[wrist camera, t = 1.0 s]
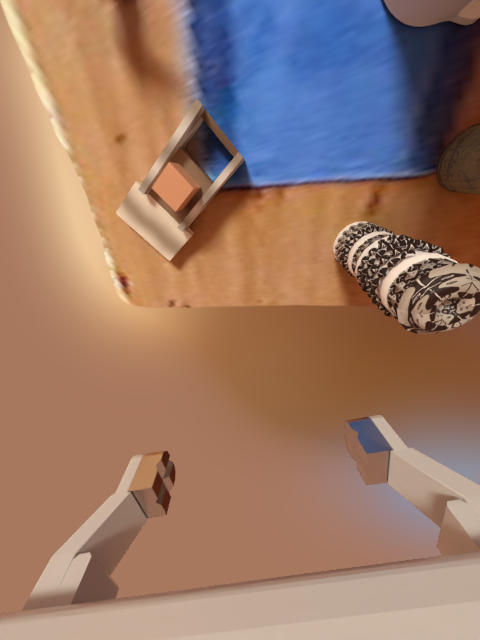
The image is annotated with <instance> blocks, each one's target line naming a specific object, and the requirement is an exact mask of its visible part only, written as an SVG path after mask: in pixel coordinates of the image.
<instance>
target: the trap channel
mask: <svg viewBox="0 0 480 640" xmlns="http://www.w3.org/2000/svg"><path fill="white" fill-rule="evenodd" d="M203 121H205V122H206V123H207V125H208V126H209V127H210V128H211V130H212V131H213V132H214V133H215V135H216V136H217V137H218V138H219V140H220V141H221V142H222V143H223V145H224V146H225V147H226V148H227V150H228V151H229V152H230V153H231V155H232V156H233V157H234V158H233V159H232V161H231V162H230V163H229V164H228V165H227V167H226V168H225V169H224V170H223V172H222V173H221V174H220V175H219V177H218V178H217V179H216V180H215V182H213V181H212V180H211V178H210V177H209V176H208V175H207V174H206V173H205V172H204V170H203V169H202V168H201V167H200V166H199V165H198V164H197V162H196V161H195V160H194V159H193V158H192V157H191V156H190V154H189V153H188V152H187V151H186V150H185V147H186V146H187V144H188V143H189V142H190V140H191V139H192V137H193V136H194V134H195V133H196V131H197V130H198V128H199V127H200V126H201V124H202V123H203ZM168 162H173V163H178V164H180V165H181V166H182V167H183V168H184V169H185V170H186V171H187V172H188V174H189V175H190V176H191V177H192V178H193V179H194V180H195V181H196V182H197V183H198V185H199V186H200V187H201V188H200V189H199V191H198V192H197V193H196V194H195V196H194V197H193V198H192V199H191V201H190V202H189V203H188V205H187V206H186V207H185V208H184V209H182V210H179V211H177V212H175V211H174V210H173V209H172V208H171V207H170V206H169V205H168V204H167V203H166V202H165V201H164V200H163V199H162V198H161V197H160V196H159V195H158V194H157V193H156V192H155V191H154V190H153V189H152V186H153V185H154V183H155V182H156V180H157V179H158V177H159V176H160V174H161V173H162V171H163V170H164V168H165V167H166V165H167V164H168ZM243 162H244V158H243V157H242V156H241V154H240V153H239V152H238V151H237V149H236V148H235V147H234V146H233V144H232V143H231V142H230V140H229V139H228V138H227V137H226V135H225V134H224V133H223V132H222V130H221V129H220V128H219V126H218V125H217V124H216V123H215V121H214V120H213V119H212V118H211V116H210V115H209V114H208V112H207V111H206V110H205V109H204V107H203V106H202V105H201V103H200V102H199V101H198V100H197V99H196V100H195V102H194V103H193V105H192V106H191V108H190V109H189V111H188V113H187V114H186V116H185V117H184V119H183V120H182V122H181V123H180V125H179V127H178V128H177V130H176V131H175V133H174V134H173V136H172V137H171V139H170V141H169V142H168V144H167V145H166V147H165V148H164V150H163V151H162V153H161V155H160V156H159V158H158V159H157V161H156V162H155V164H154V165H153V167H152V168H151V170H150V172H149V173H148V175H147V176H146V178H145V179H144V181H136V182H135V184H134V185H133V187H132V188H131V190H130V191H129V193H128V195H127V196H126V198H125V199H124V201H123V203H122V204H121V206H120V207H119V209H118V211H117V212H116V214H117V215H118V216H119V217H120V218H122V219H123V220H124V221H125V222H126V223H127V224H128V225H129V226H131V227H132V228H133V229H134V230H135V231H136V232H137V233H138V234H139V235H141V236H142V237H143V238H144V239H145V240H146V241H147V242H148V243H150V244H151V245H152V246H153V247H154V248H155V249H156V250H157V251H159V252H160V253H161V254H162V255H163V256H164V257H165V258H166V259H168V260H169V261H170V260H171V259H172V258H174V256H175V255H176V254H177V253H178V252H179V251H180V249H181V248H182V247H183V246H184V245H185V244H186V242H187V241H188V240H189V239H190V238H191V237H192V236H193V234H194V232H193V231H192V230H191V229H190V228H189V226H190V225H191V224H192V223H193V221H194V220H195V219H196V218H197V217H198V215H199V214H200V213H201V212H202V211H203V209H204V208H205V207H206V206H207V205H208V203H209V202H210V201H211V200H212V199H213V197H214V196H215V195H216V194H217V193H218V191H219V190H220V189H221V188H222V187H223V185H224V184H225V183H226V182H227V181H228V179H229V178H230V177H231V176H232V175H233V174H234V172H235V171H236V170H237V169H238V168H239V166H240V165H241V164H242V163H243Z"/></svg>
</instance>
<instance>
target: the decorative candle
mask: <svg viewBox="0 0 480 640" xmlns="http://www.w3.org/2000/svg"><path fill="white" fill-rule="evenodd" d="M443 251H444V250H443V248H442V247H439V246H435V245H433V244H430V243H428V242H424V241H423V240H415V239H412V238H411V237H407V236H406V235H396V236H395V235H394V233H393V232H392V231H388V230H387V229H386V228H383V227H380V226H378V225H376V224H373V223H371V222H366V221H363V222H355V223H352V224H350V225H348V226H346V227H345V228H344V229H343V230H342V231H341V232H340V233H339V234H338V236H337V237H336V239H335V241H334V246H333V253H334V257H335V259H336V260H337V262H339V264H340V265H341V266H342V267H343V268H344V269H345V270H346V271H347V272H348V273H350V275H351V276H353V277H354V276H355V277H356V279H357V281H358V282H359V285H360V286H361V287H363V288H362V290H363V291H364V292H368V297H369V298H373V299H372V302H373V304H375V305H378V309H380V310H382V311H383V310H386V311H385V315H386V316H393V315H394V317H395V318H396V319H398V321H399V322H400V324H401V325H402V326H403V327H404V328H405V329H406V330H408V331H411V332H414V333H417V334H435V333H438V332H445V331H449V330H452V329H456V328H458V327H460V326H462V325H464V324H466V323H467V322H469V321H470V320H471V319H472V318H473V317H475V316H476V315H477V314H478V313H479V311H480V268H478V267H476V266H474V265H471V264H458V262H457V261H455V260H453V259H451V256H450V255H449V254H446V253H443ZM430 252H431V253H430ZM380 302H381V303H382V304H383V305H382V304H381V303H380Z"/></svg>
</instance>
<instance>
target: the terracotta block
mask: <svg viewBox="0 0 480 640" xmlns="http://www.w3.org/2000/svg"><path fill="white" fill-rule="evenodd" d="M200 188H201V187H200V186H199V185H198V183H197V182H196V181H195V180H194V179H193V178H192V177H191V176H190V175H189V174H188V172H187V171H186V170H185V169H184V168H183V167H182V166H181V165H180V164H178V163H173V162H168V164H167V165H166V167H165V168H164V170H163V171H162V173H161V174H160V176H159V177H158V179H157V180H156V182H155V183H154V185H153V186H152V189H153V190H154V191H155V192H156V193H157V194H158V195H159V196H160V197H161V198H162V199H163V200H164V201H165V202H166V203H167V204H168V205H169V206H170V207H171V208H172V209H173V210H174V211H175V212H177V211H179V210H182V209H184V208H185V207H186V206H187V205H188V203H189V202H190V201H191V199H192V198H193V197H194V196H195V194H196V193H197V192H198V191H199V189H200Z"/></svg>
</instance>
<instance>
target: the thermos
mask: <svg viewBox="0 0 480 640" xmlns="http://www.w3.org/2000/svg"><path fill="white" fill-rule="evenodd" d="M437 178H438V181H439V183H440V185H441V187H443V188H444V189H446V190H448V191H455V192H460V193H467V194H480V124H477V125H473V126H471V127H469V128H468V129H466V130H464V131H462V132H461V133H460V134H459V135H458V136H456V137H455V138H454V139H453V140H452V141H451V142H450V144H449V145H448V146H447V148H446V149H445V150H444V152H443V154H442V156H441V158H440V160H439V164H438V168H437Z"/></svg>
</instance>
